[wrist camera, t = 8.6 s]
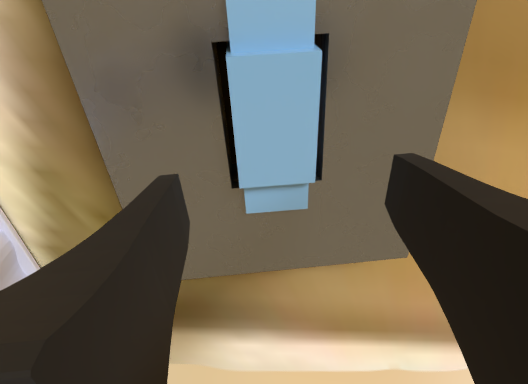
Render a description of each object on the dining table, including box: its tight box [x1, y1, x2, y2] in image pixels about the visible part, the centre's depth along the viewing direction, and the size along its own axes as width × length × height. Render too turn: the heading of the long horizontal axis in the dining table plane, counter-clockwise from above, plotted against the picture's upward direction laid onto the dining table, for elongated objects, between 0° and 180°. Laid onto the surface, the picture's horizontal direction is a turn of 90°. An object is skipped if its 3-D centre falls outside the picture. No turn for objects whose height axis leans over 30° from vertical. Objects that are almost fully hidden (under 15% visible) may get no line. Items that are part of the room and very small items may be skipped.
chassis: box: [42, 0, 477, 280], centre depth 18 cm, size 22×18×3 cm
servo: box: [226, 0, 322, 214], centre depth 17 cm, size 11×4×4 cm, turn 3°
